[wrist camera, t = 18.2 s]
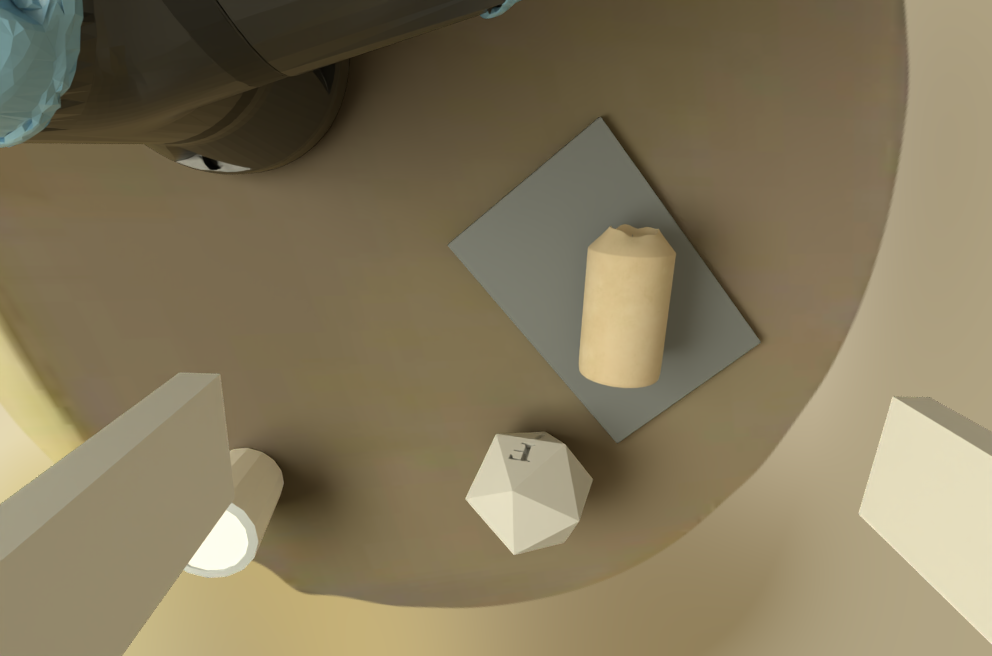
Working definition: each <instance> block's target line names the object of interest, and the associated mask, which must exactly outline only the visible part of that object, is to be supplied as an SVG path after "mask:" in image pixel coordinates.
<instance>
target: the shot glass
mask: <svg viewBox="0 0 992 656" xmlns="http://www.w3.org/2000/svg"><path fill="white" fill-rule="evenodd" d="M229 452H230V461H231V469H232V478H233V486H234V494H235V498H234V500H233V501H232V503H231V504H230V505H229V507H228V508H227V510H226V511H225V512H224V514H223V515H222V517H221V518H220V519H219V521H218V522H217V524H216V525H215V526H214V528H213V529H212V531H211V532H210V533H209V535H208V536H207V538H206V539H205V540H204V542H203V543H202V545H201V546H200V547H199V549H198V550H197V552H196V553H195V554H194V556H193V557H192V559H191V560H190V561H189V563H188V564H187V566H186V567H185V568H184V570H185V571H186V572H188V573H192V574H195V575H199V576H203V577H207V578H209V577H227V576H229V575H231V574H234V573H236V572H239V571H241V570H243V569H244V568H245V567H246V566H247V565H248V564H249V563H250V562H251V561H252V560H253V558H254V557H255V555H256V552H257V550H258V548H259V545H260V543H261V540H262V538H263V536H264V533H265V531H266V529H267V526H268V524H269V521H270V519H271V517H272V514H273V512H274V509H275V507H276V505H277V502H278V500H279V498H280V495H281V492H282V488H283V485H284V481H283V476H282V471H281V469H280V468H279V467H278V465H277V464H276V462H275V461H274V460H273V459H272V458H270V457H269V456H267V455H266V454H265V453H263V452H261V451H257V450H254V449H250V448H239V449H233V450H230V451H229Z"/></svg>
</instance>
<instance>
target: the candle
mask: <svg viewBox="0 0 992 656" xmlns="http://www.w3.org/2000/svg"><path fill="white" fill-rule="evenodd" d="M675 258H676V252H675V251H674V250H673V248H672V247H671V246H670V244H669V243H668V242H667V240H666V239H665V238H664V236H663V235H662V233H661V232H660V230H659V229H654V228H651V227H644V228H640V229H637V228H634V227H632V226H630V225H627V224H623V225H620V226H619V227H618V228H616V229H614V228H612V226H609V228H608V229H607V230H606V231H605V232H604V233H603V234H602V235H601V236H599V237H598V238H597V239H596V240H595V241H594V242H593V243H592V244H591V245H590V246H589V247H588V252H587V264H586V277H585V289H584V301H583V314H582V326H581V339H580V351H579V371H580V373H581V374H582V375H583V376H584V377H586V378H587V379H589V380H591V381H594V382H596V383H599V384H603V385H607V386H612V387H619V388H640V387H646V386H649V385H652V384H654V383H656V382H657V381H658V379H659V376H660V372H661V365H662V358H663V350H664V343H665V335H666V327H667V320H668V312H669V304H670V297H671V289H672V281H673V274H674V266H675Z"/></svg>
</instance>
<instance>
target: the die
mask: <svg viewBox="0 0 992 656" xmlns="http://www.w3.org/2000/svg"><path fill="white" fill-rule="evenodd" d="M592 481H593V479H592V477H591V476H590V475H589V474H588V472H587V471H586V470H585V468H584V467H583V466H582V465H581V463H580V462H579V461H578V460H577V458H576V457H575V456H574V455H573V453H572V452H571V451H570V450H569V448H568V447H567V446H566V445H565V444H564V443H562V442H561V441H559V440H558V439H556V438H555V437H553V436H551V435H550V434H548V433H547V432H545V431H544V432H530V433H528V432H524V433H504V434H496V436H495V438H494V440H493V442H492V444H491V446H490V448H489V450H488V452H487V454H486V457H485V459H484V461H483V463H482V465H481V467H480V469H479V471H478V473H477V475H476V478H475V480H474V482H473V484H472V486H471V488H470V490H469V492H468V494H467V496H466V498H465V499H466V500H467V501H468V502H469V504H470V505H471V506H472V507H473V508H474V509H475V511H476V512H477V513H478V514H479V515H480V516H481V517H482V519H483V520H484V521H485V522H486V523H487V524H488V526H489V527H490V528H491V529H492V530H493V531H494V533H495V534H496V535H497V536H498V537H499V538H500V539H501V541H502V542H503V543H504V544H505V545H506V546H507V548H508V549H509V550H510V551H511V552H512V553H513V554H514V555H516V554H520V553H524V552H528V551H532V550H537V549H541V548H545V547H549V546H553V545H557V544H561V543H564V542H565V541H566V539H567V538H568V537H569V535H570V534H571V532H572V531H573V529H574V528H575V527H576V525H577V524H578V522H579V520H580V517H581V514H582V511H583V508H584V505H585V502H586V499H587V496H588V493H589V490H590V487H591V484H592Z"/></svg>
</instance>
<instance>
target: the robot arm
mask: <svg viewBox="0 0 992 656" xmlns="http://www.w3.org/2000/svg"><path fill="white" fill-rule="evenodd" d="M519 1H521V0H0V147H2V148H3V147H10V146H14V145H17V144H20V143H71V144H144V145H146V146H148V147H149V148H151V149H153V150H154V151H156V152H157V153H159V154H161V155H163V156H164V157H166V158H168V159H170V160H172V161H174V162H177V163H179V164H182V165H184V166H187V167H190V168H193V169H197V170H201V171H205V172H210V173H217V174H247V173H257V172H263V171H268V170H272V169H275V168H278V167H281V166H283V165H286V164H288V163H290V162H292V161H294V160H296V159H297V158H299V157H301V156H302V155H303V154H305V153H306V152H307V151H309V150H310V149H311V148H312V147H313V146H314V145H315V144H316V143H317V142H318V141H319V140H320V139H321V138H322V137H323V135H324V134H325V133H326V132H327V130H328V129H329V127H330V126H331V124H332V122H333V121H334V119H335V117H336V115H337V113H338V111H339V108H340V106H341V103H342V100H343V97H344V94H345V90H346V86H347V80H348V72H349V58H351V57H354V56H357V55H360V54H363V53H366V52H369V51H372V50H375V49H378V48H381V47H384V46H387V45H390V44H393V43H397V42H400V41H403V40H406V39H409V38H412V37H415V36H418V35H421V34H424V33H427V32H430V31H433V30H436V29H439V28H442V27H445V26H448V25H451V24H454V23H457V22H460V21H463V20H466V19H469V18H472V17H475V16H478V15H480V16H481V17H482V18H484V19H488V18H493V17H496V16H499V15H501V14H503V13H504V12H505V11H507V10H508V9H509V8H510V7H511V6H513V5H514V4H515V3H516V2H519ZM234 498H235V494H234V486H233V478H232V469H231V461H230V452H229V444H228V435H227V427H226V418H225V410H224V401H223V393H222V384H221V376H220V374H207V373H178V374H177V375H175V376H174V377H173V378H171V379H170V380H169V381H167V382H166V383H165V384H163V385H162V386H160V387H159V388H158V389H156V390H155V391H154V392H152V393H151V394H150V395H148V396H147V397H145V398H144V399H143V400H141V401H140V402H139V403H137V404H136V405H135V406H133V407H132V408H130V409H129V410H128V411H126V412H125V413H124V414H122V415H121V416H120V417H118V418H117V419H115V420H114V421H113V422H111V423H110V424H109V425H107V426H106V427H105V428H103V429H102V430H100V431H99V432H98V433H96V434H95V435H94V436H92V437H91V438H90V439H88V440H87V441H85V442H84V443H83V444H81V445H80V446H79V447H77V448H76V449H75V450H73V451H72V452H70V453H69V454H68V455H66V456H65V457H64V458H62V459H61V460H60V461H58V462H57V463H55V464H54V465H53V466H51V467H50V468H49V469H47V470H46V471H45V472H43V473H42V474H40V475H39V476H38V477H36V478H35V479H34V480H32V481H31V482H30V483H29V484H27V485H26V486H24V487H23V488H21V489H20V490H19V491H17V492H16V493H15V494H13V495H12V496H10V497H9V498H8V499H7V500H5V501H4V502H2V503H1V504H0V656H122V655H123V654H124V652H125V651H126V649H127V648H128V647H129V645H130V644H131V643H132V641H133V640H134V638H135V637H136V636H137V634H138V633H139V631H140V630H141V628H142V627H143V626H144V624H145V623H146V621H147V620H148V619H149V617H150V616H151V614H152V613H153V612H154V610H155V609H156V608H157V606H158V605H159V603H160V602H161V601H162V599H163V598H164V596H165V595H166V594H167V592H168V591H169V589H170V588H171V587H172V585H173V584H174V582H175V581H176V579H177V578H178V577H179V575H180V574H181V573H182V571H183V570H184V568H185V567H186V566H187V564H188V563H189V561H190V560H191V559H192V557H193V556H194V554H195V553H196V552H197V550H198V549H199V547H200V546H201V545H202V543H203V542H204V540H205V539H206V538H207V536H208V535H209V533H210V532H211V531H212V529H213V528H214V526H215V525H216V524H217V522H218V521H219V519H220V518H221V517H222V515H223V514H224V512H225V511H226V510H227V508H228V507H229V505H230V504H231V503H232V501H233V500H234ZM859 515H860V516H861V517H862V518H863V519H864V520H865V521H866V522H867V523H868V524H869V525H870V526H871V527H872V528H873V529H874V530H875V531H876V532H877V533H878V534H879V535H880V536H882V538H884V539H885V541H887V542H888V543H889V544H890V545H891V546H892V547H893V548H894V549H895V550H896V551H897V552H898V553H899V554H900V555H901V556H902V557H903V558H904V559H905V560H906V561H907V562H908V563H909V564H910V565H911V566H912V567H913V568H914V569H915V570H916V571H917V572H918V573H919V574H920V575H921V576H922V577H923V578H924V579H925V580H926V581H927V582H929V584H931V585H932V586H933V587H934V588H935V589H936V590H937V591H938V592H939V593H940V594H941V595H942V596H943V597H944V598H945V599H946V600H947V601H948V602H949V603H950V604H951V605H952V606H953V607H954V608H955V609H956V610H957V611H958V612H959V613H960V614H961V615H962V616H964V618H966V619H967V621H968V622H969V623H970V624H972V626H974V627H975V628H976V629H977V630H978V631H979V632H980V633H981V634H982V635H983V636H984V637H985V638H986V639H987V640H988V641H989V642H990V643H991V644H992V432H991V431H990V430H988V429H986V428H984V427H982V426H981V425H979V424H977V423H975V422H973V421H971V420H970V419H968V418H966V417H964V416H963V415H960V414H959V413H957V412H955V411H954V410H952V409H950V408H948V407H947V406H945V405H943V404H941V403H939V402H938V401H935V400H934V399H932V398H930V397H899V396H893V397H892V401H891V404H890V407H889V411H888V415H887V418H886V421H885V425H884V428H883V432H882V435H881V438H880V442H879V445H878V449H877V452H876V455H875V459H874V462H873V466H872V470H871V473H870V476H869V479H868V483H867V486H866V490H865V493H864V497H863V500H862V504H861V507H860V511H859Z"/></svg>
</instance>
